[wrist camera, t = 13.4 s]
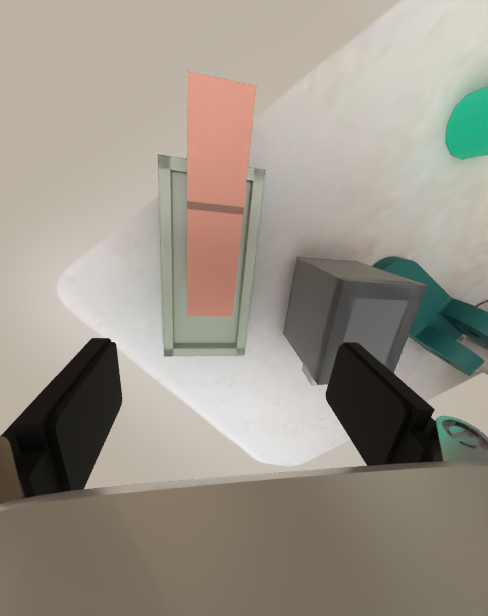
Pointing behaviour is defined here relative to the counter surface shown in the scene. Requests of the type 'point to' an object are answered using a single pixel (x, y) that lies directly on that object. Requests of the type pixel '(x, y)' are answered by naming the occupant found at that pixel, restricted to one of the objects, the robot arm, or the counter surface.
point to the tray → (173, 237)
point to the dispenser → (348, 313)
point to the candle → (469, 126)
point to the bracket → (442, 318)
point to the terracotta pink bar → (215, 189)
